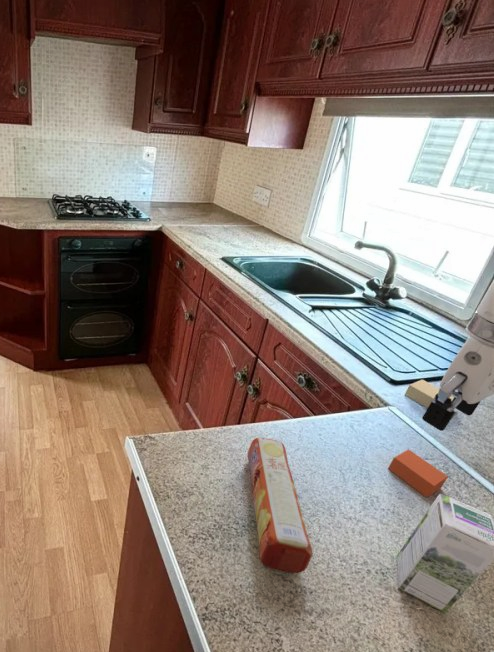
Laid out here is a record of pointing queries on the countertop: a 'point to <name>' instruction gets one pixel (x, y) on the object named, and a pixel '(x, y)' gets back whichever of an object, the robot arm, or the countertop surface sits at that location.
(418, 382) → the sand pad
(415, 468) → the terracotta pad
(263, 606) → the countertop surface
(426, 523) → the syrup box
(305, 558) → the snack package
